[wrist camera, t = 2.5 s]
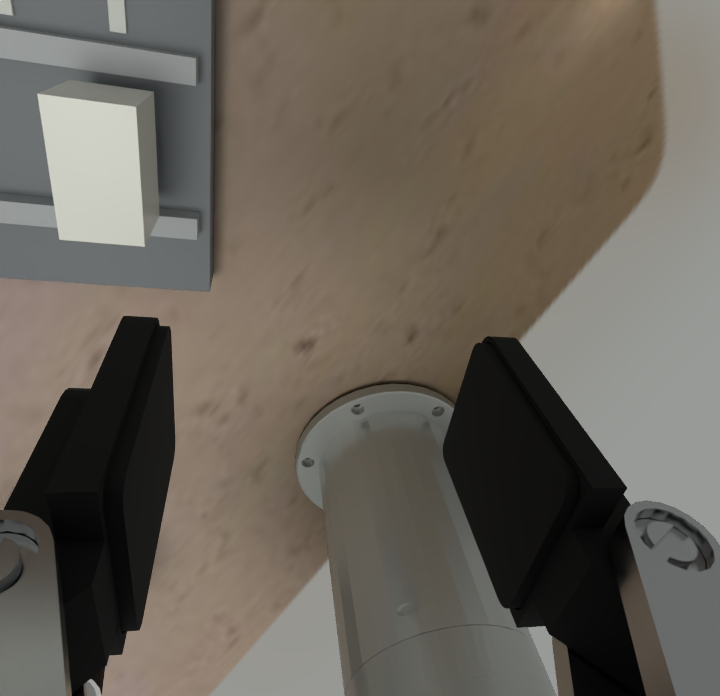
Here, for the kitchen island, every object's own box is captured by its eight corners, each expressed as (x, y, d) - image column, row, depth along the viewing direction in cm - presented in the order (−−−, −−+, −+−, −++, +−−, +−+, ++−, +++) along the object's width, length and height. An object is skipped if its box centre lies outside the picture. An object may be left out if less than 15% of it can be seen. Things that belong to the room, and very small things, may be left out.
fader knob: (160, 86, 22) (136, 107, 18) (164, 204, 25) (144, 246, 20) (81, 75, 21) (37, 93, 17) (94, 197, 24) (59, 239, 20)
